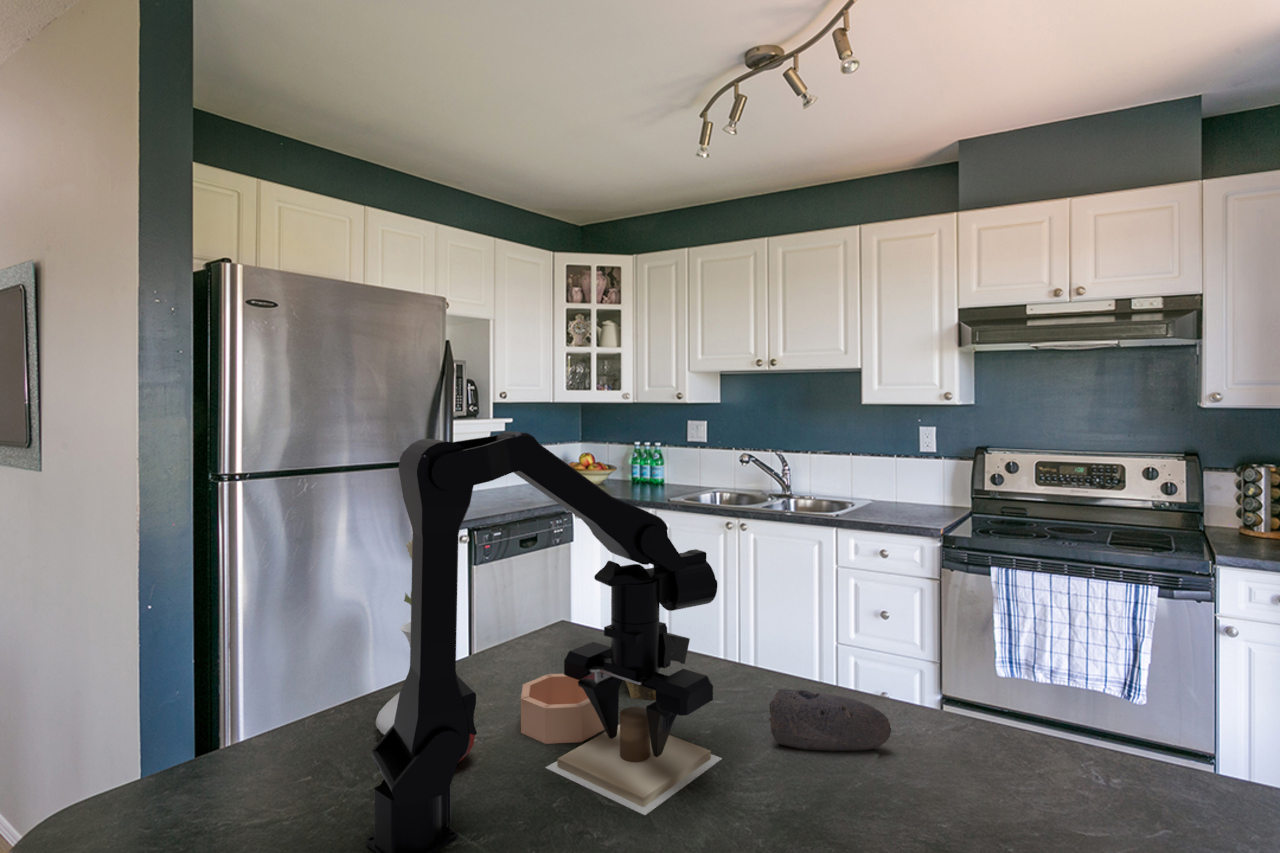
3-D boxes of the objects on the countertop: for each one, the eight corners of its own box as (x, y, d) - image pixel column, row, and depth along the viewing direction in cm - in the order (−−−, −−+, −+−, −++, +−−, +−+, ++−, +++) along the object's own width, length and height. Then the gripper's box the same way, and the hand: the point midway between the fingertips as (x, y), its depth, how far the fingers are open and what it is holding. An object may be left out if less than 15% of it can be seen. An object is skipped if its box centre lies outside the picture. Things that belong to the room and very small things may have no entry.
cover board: (643, 807, 75) (643, 751, 75) (557, 766, 83) (557, 716, 83) (710, 758, 85) (711, 710, 85) (628, 727, 93) (628, 682, 93)
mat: (644, 819, 74) (644, 814, 74) (545, 771, 83) (545, 767, 83) (722, 762, 85) (722, 758, 85) (627, 725, 95) (627, 722, 95)
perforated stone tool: (887, 743, 90) (888, 690, 90) (894, 764, 85) (896, 707, 85) (768, 733, 93) (768, 681, 92) (768, 753, 87) (769, 698, 87)
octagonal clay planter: (563, 755, 87) (563, 715, 86) (504, 729, 94) (504, 691, 93) (621, 723, 95) (621, 687, 95) (563, 701, 102) (563, 667, 102)
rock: (605, 657, 113) (587, 672, 104) (638, 616, 113) (623, 627, 103) (657, 705, 111) (643, 724, 101) (690, 663, 110) (680, 679, 101)
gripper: (738, 616, 84) (737, 745, 84) (619, 589, 96) (619, 702, 96) (684, 641, 75) (683, 784, 76) (560, 607, 87) (561, 732, 87)
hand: (634, 746), depth 84 cm, fingers open, 7 cm apart
